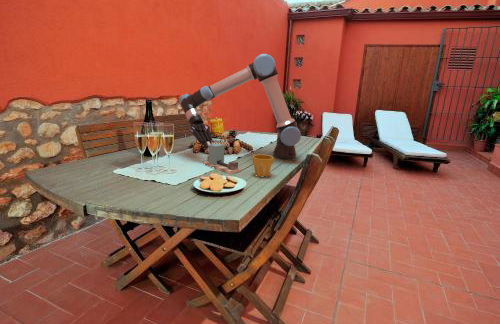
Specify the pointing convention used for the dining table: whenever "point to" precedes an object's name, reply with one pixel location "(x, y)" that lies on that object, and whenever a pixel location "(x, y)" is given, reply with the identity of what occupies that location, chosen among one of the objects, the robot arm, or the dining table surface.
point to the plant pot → (262, 164)
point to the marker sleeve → (216, 153)
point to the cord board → (224, 166)
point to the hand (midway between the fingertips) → (211, 152)
